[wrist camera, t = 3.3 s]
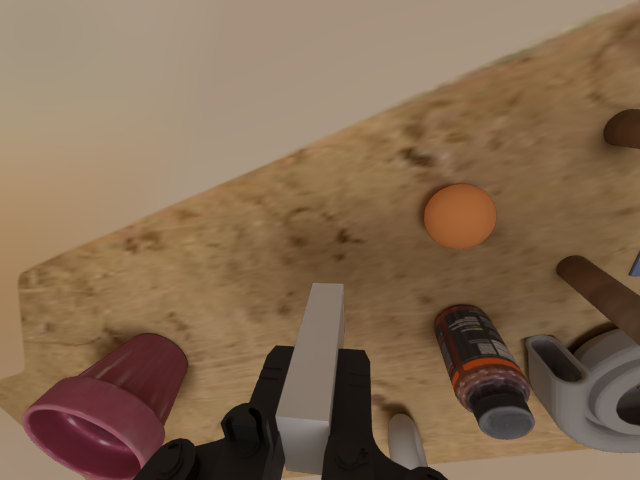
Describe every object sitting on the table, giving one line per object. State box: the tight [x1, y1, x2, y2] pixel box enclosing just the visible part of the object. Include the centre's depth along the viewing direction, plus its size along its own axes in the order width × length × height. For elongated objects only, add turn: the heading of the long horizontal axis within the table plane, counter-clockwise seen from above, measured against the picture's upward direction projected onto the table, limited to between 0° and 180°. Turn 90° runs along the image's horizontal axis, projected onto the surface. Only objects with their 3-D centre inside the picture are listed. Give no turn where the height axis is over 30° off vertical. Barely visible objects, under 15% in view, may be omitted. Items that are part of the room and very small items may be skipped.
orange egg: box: [424, 184, 497, 249], centre depth 24 cm, size 6×6×6 cm
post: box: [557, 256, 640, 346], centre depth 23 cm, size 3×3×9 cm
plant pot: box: [22, 334, 187, 480], centre depth 36 cm, size 14×14×13 cm
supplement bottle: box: [435, 306, 535, 440], centre depth 27 cm, size 6×6×11 cm
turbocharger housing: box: [525, 328, 640, 453], centre depth 29 cm, size 17×6×15 cm
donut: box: [388, 414, 428, 470], centre depth 36 cm, size 10×4×10 cm, turn 23°
